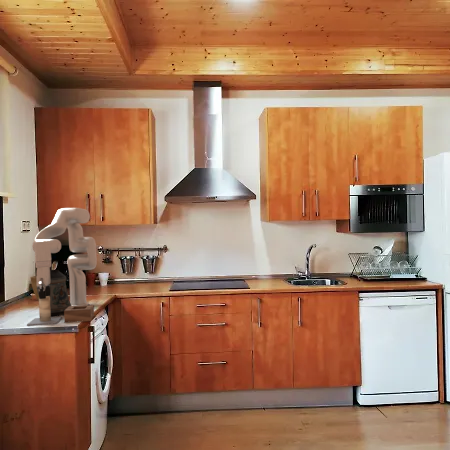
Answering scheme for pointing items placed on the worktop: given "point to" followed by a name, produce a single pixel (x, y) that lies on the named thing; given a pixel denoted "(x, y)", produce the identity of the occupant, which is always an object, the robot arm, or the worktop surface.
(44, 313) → the maple plug
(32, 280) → the plant pot
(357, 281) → the worktop surface
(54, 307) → the beer stein
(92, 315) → the walnut holder
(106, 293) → the worktop surface
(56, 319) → the slate mat
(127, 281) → the worktop surface
